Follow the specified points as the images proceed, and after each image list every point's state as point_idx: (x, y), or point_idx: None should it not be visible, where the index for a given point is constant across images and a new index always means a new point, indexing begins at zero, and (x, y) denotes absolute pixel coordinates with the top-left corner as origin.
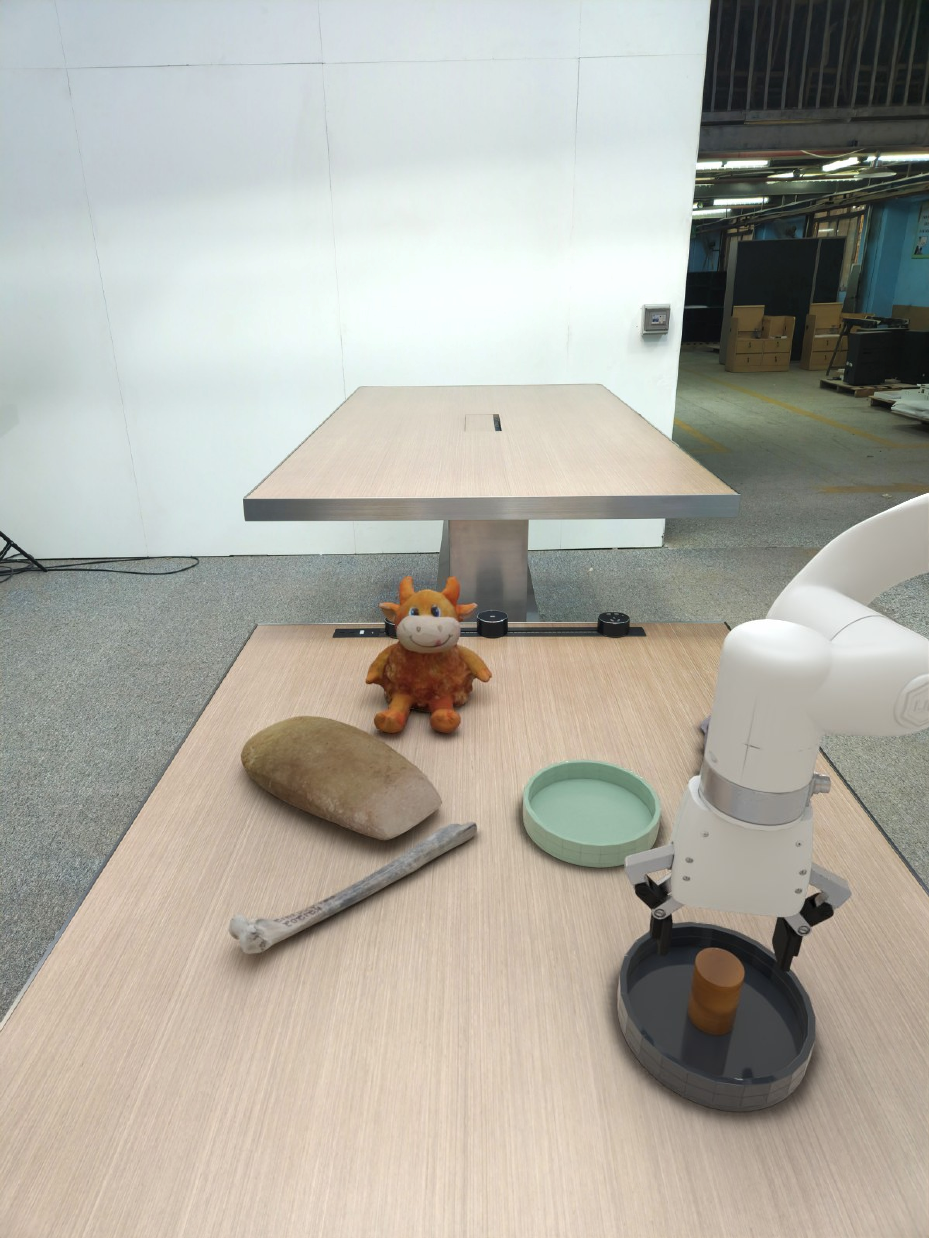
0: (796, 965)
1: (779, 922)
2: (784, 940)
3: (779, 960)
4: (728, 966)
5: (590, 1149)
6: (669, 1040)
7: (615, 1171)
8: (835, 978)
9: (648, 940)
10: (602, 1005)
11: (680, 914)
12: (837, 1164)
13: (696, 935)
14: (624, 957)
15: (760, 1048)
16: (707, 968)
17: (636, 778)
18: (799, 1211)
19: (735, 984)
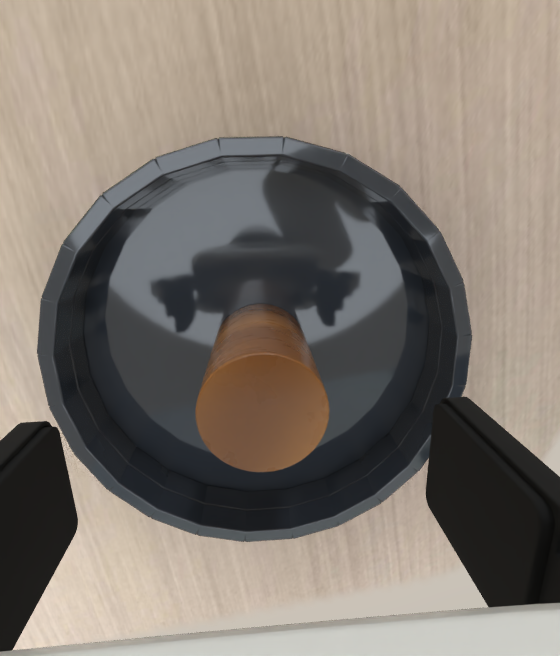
0: (471, 169)
1: (503, 508)
2: (488, 582)
3: (436, 502)
4: (287, 411)
5: (74, 572)
6: (179, 413)
7: (113, 587)
8: (542, 192)
9: (101, 228)
10: None
11: (212, 32)
12: (408, 524)
13: (239, 160)
14: (40, 306)
15: (342, 397)
16: (227, 429)
17: None
18: (342, 580)
19: (297, 460)
